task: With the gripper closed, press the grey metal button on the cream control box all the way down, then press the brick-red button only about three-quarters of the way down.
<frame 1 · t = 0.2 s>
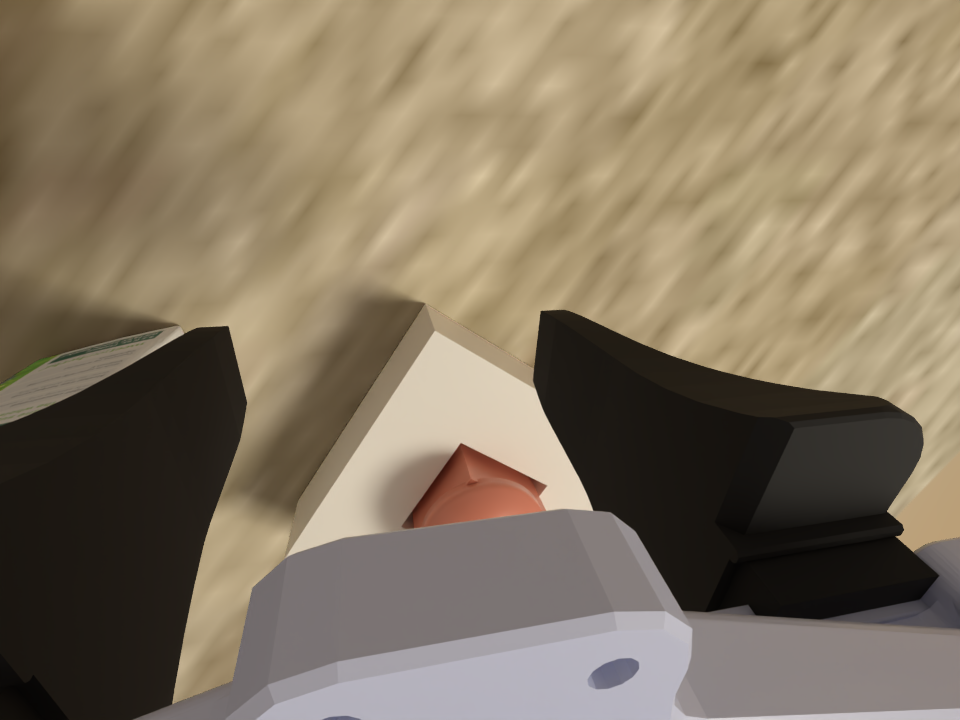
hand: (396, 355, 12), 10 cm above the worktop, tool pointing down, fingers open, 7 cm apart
control box: (548, 499, 28), on the worktop
red button: (475, 507, 22), point 4 cm above the worktop, slide at 0.0 cm
syrup box: (149, 397, 21), on the worktop
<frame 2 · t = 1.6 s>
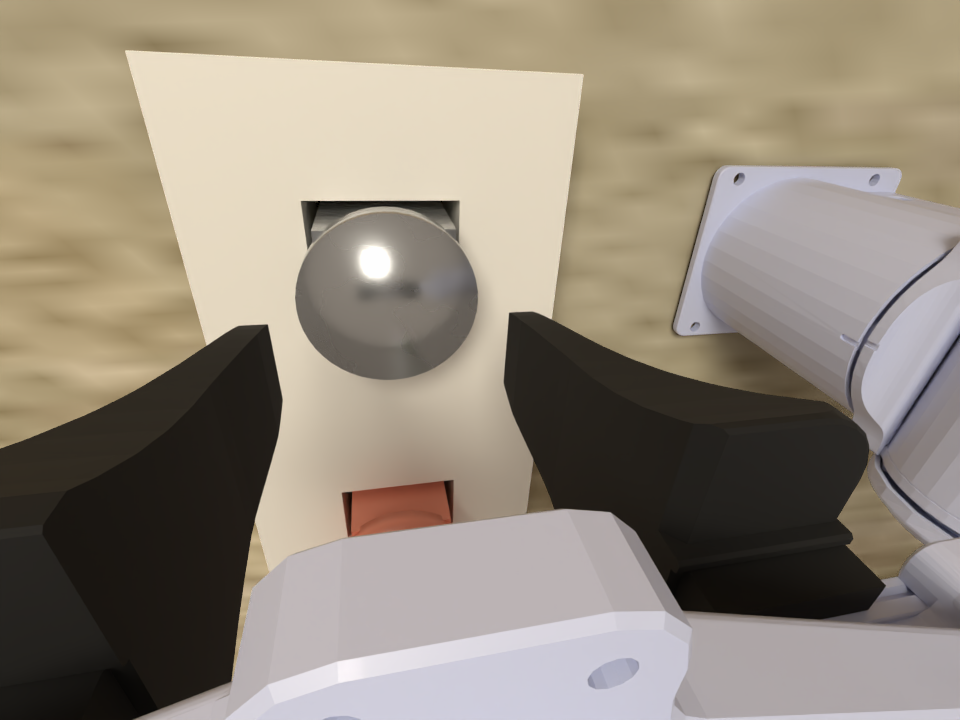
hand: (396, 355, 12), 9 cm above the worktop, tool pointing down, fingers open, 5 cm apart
grey button: (387, 276, 16), point 4 cm above the worktop, slide at 0.0 cm
control box: (390, 367, 23), on the worktop
red button: (401, 526, 22), point 4 cm above the worktop, slide at 0.0 cm
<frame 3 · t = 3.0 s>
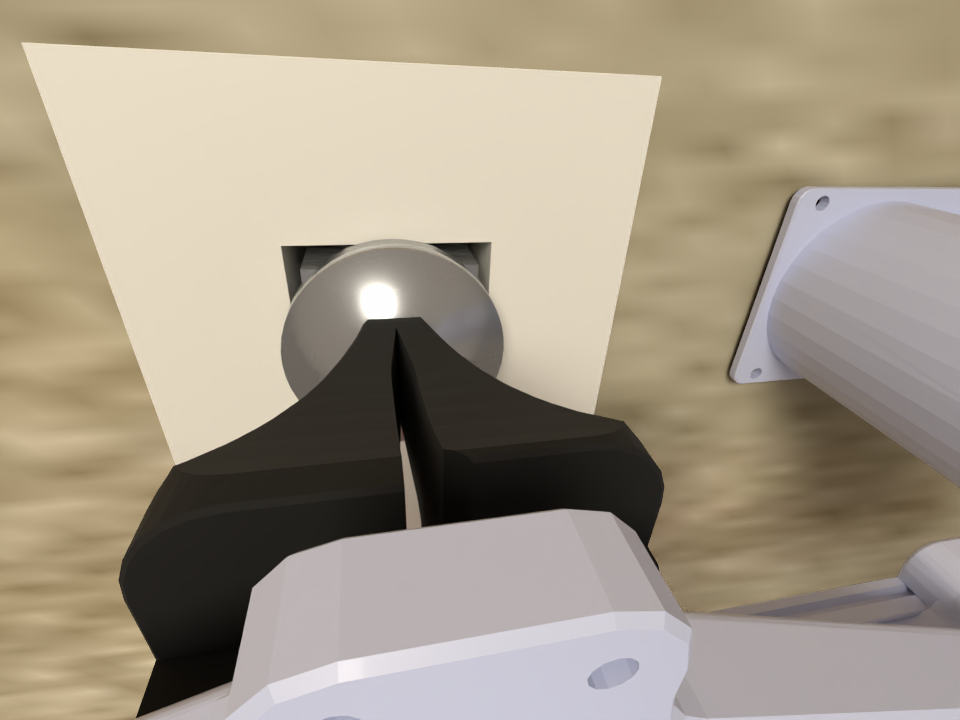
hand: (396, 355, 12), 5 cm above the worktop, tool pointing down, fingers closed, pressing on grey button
grey button: (392, 315, 13), point 3 cm above the worktop, slide at 1.3 cm, touching gripper
control box: (396, 425, 19), on the worktop
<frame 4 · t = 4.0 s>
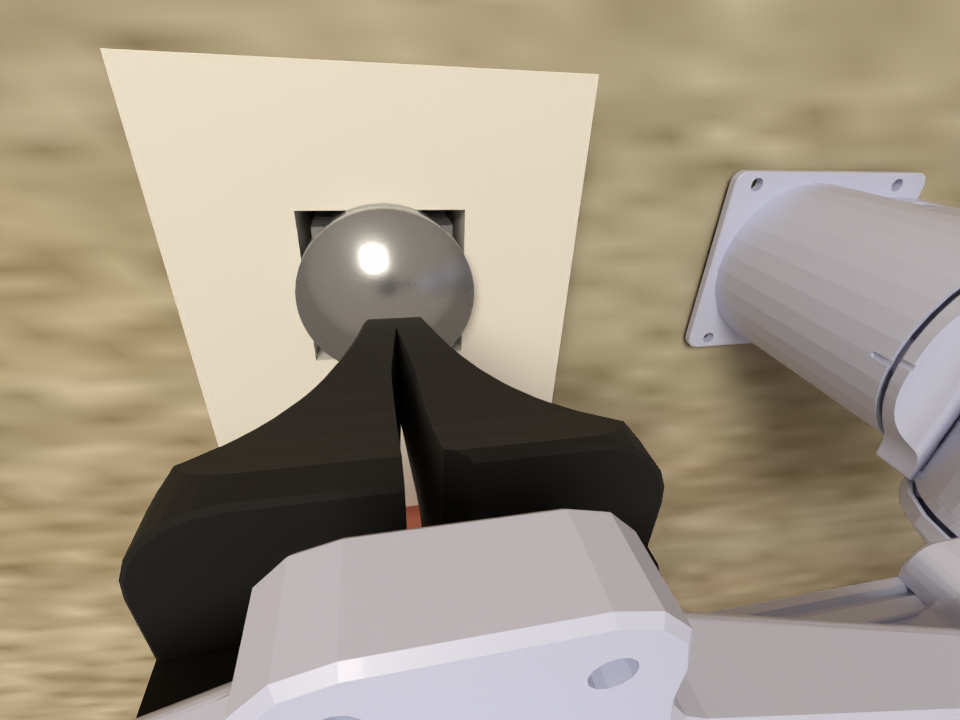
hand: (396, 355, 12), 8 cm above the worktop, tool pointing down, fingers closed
grey button: (385, 271, 16), point 2 cm above the worktop, slide at 1.6 cm, touching control box
control box: (390, 381, 21), on the worktop
red button: (402, 548, 21), point 4 cm above the worktop, slide at 0.0 cm
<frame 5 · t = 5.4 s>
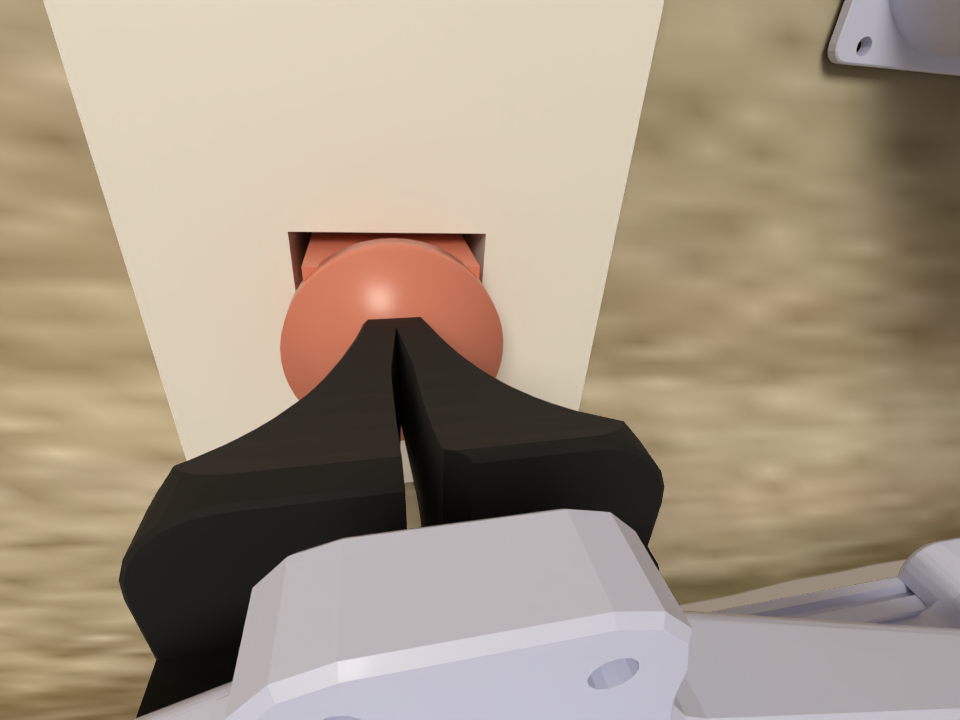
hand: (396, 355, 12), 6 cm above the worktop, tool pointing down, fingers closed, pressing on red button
control box: (381, 63, 14), on the worktop
red button: (392, 314, 13), point 4 cm above the worktop, slide at 0.5 cm, touching gripper
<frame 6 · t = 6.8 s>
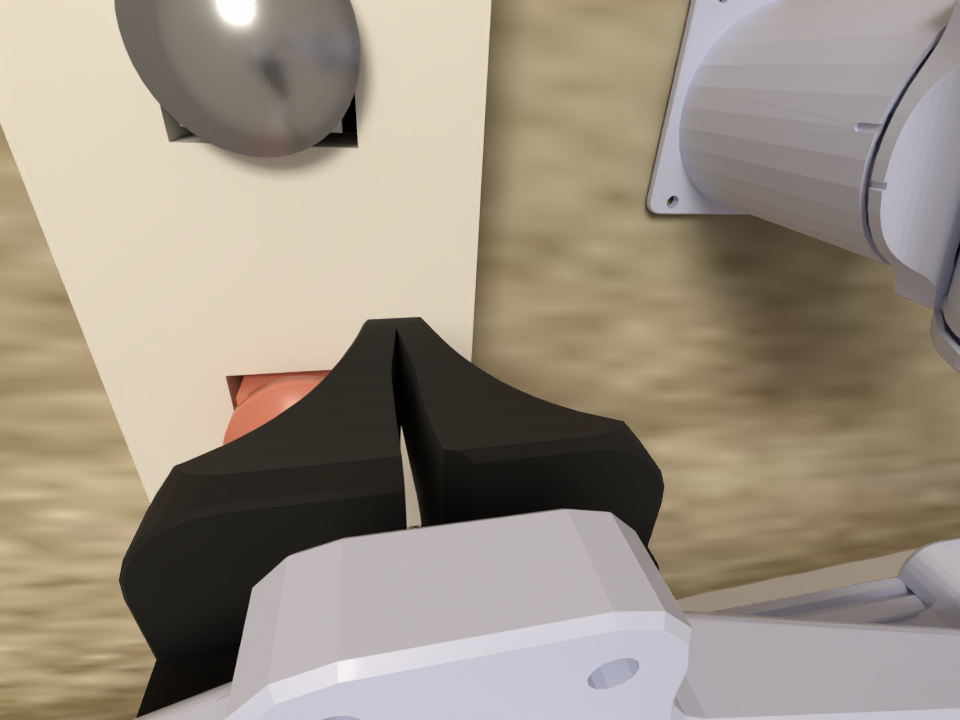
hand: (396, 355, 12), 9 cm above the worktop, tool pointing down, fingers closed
grey button: (261, 42, 13), point 2 cm above the worktop, slide at 1.6 cm, touching control box
control box: (299, 235, 18), on the worktop
red button: (311, 412, 19), point 3 cm above the worktop, slide at 1.0 cm
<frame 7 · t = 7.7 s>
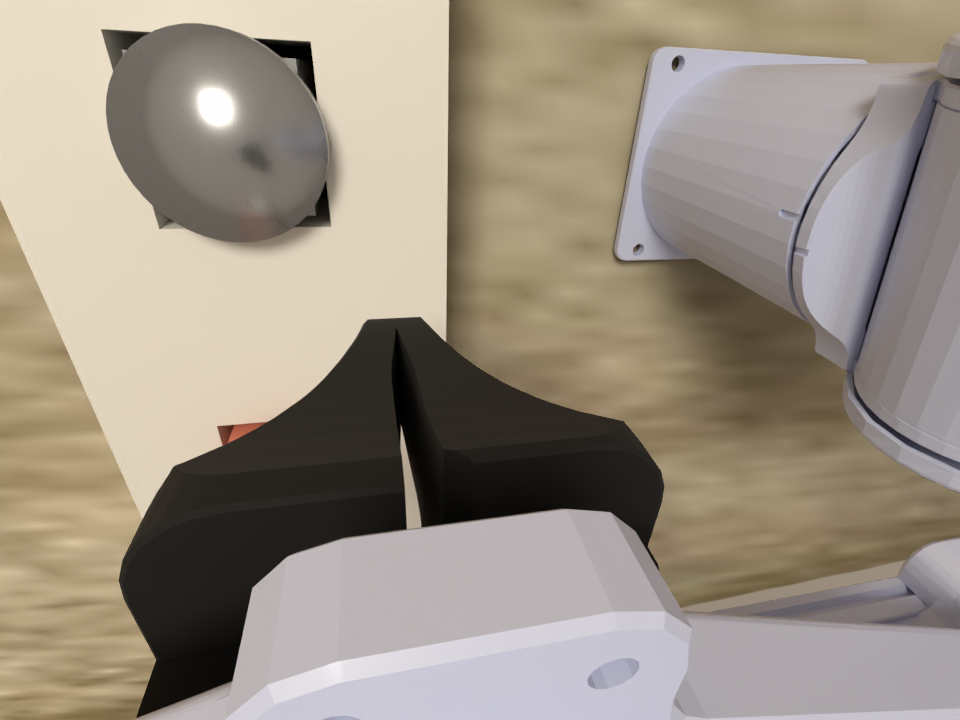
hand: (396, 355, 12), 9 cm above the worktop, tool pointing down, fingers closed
grey button: (242, 134, 15), point 2 cm above the worktop, slide at 1.6 cm, touching control box
control box: (285, 289, 20), on the worktop
red button: (298, 452, 20), point 3 cm above the worktop, slide at 1.0 cm
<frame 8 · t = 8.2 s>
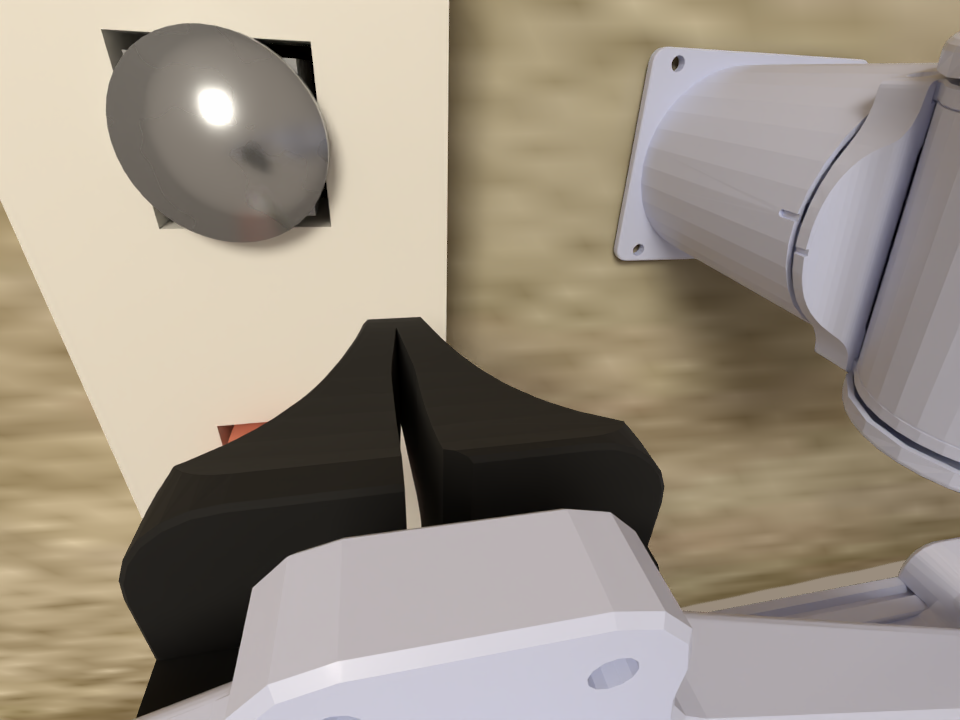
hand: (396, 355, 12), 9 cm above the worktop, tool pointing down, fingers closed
grey button: (242, 134, 15), point 2 cm above the worktop, slide at 1.6 cm, touching control box
control box: (285, 289, 20), on the worktop
red button: (298, 452, 20), point 3 cm above the worktop, slide at 1.0 cm
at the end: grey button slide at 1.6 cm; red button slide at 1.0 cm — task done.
